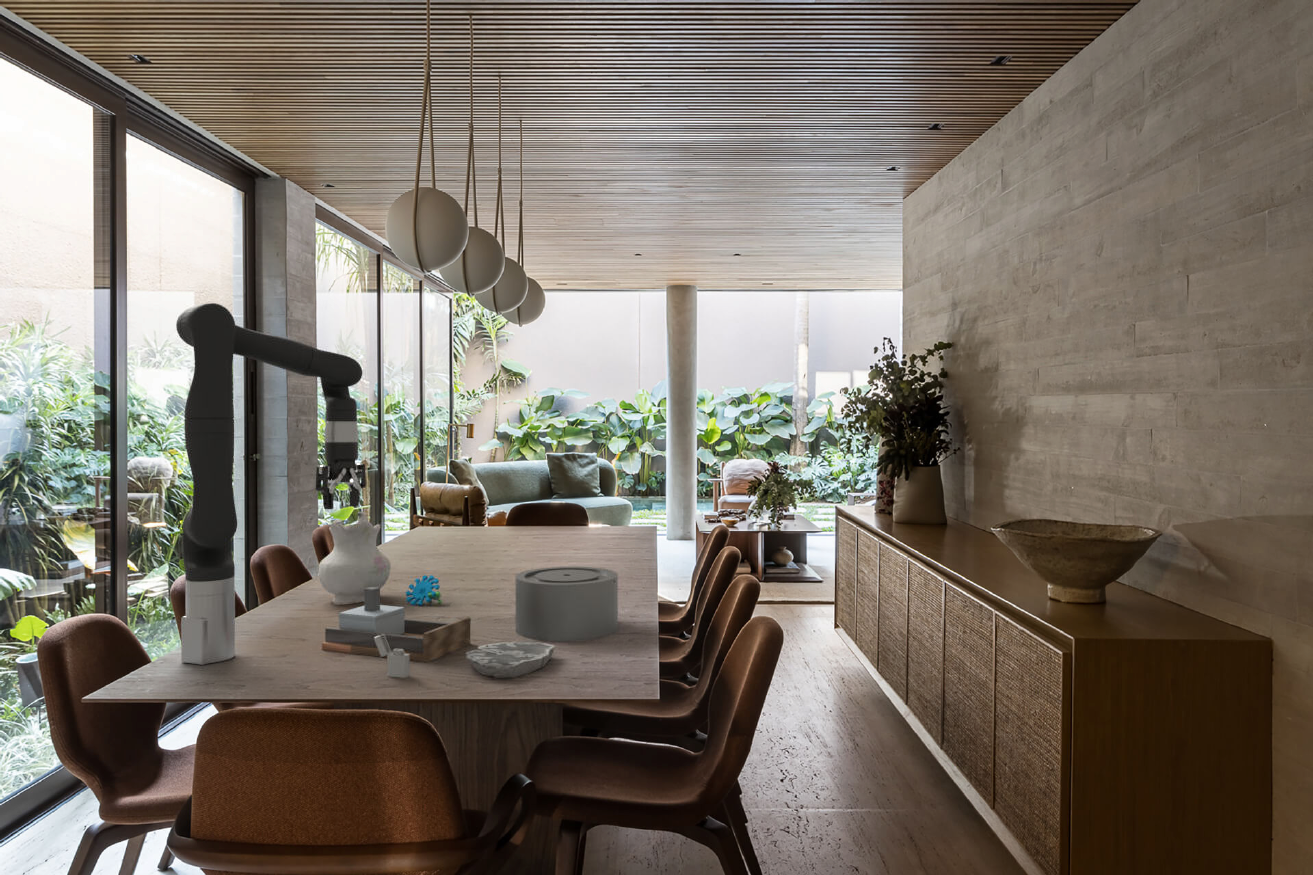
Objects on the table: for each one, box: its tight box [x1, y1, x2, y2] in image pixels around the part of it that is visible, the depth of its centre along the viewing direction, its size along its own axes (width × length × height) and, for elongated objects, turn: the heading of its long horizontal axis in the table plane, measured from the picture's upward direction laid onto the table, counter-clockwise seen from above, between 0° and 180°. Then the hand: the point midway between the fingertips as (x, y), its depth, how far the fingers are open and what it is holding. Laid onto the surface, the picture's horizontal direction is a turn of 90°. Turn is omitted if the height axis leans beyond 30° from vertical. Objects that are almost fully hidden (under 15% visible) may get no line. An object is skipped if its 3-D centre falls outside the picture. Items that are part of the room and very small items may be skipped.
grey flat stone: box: [464, 640, 555, 679], centre depth 168 cm, size 20×17×3 cm
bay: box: [321, 616, 471, 663], centre depth 183 cm, size 16×28×6 cm, turn 69°
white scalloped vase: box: [317, 510, 392, 606], centre depth 234 cm, size 22×20×25 cm
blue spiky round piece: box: [405, 574, 443, 607], centre depth 230 cm, size 11×6×10 cm
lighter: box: [374, 634, 411, 679], centre depth 161 cm, size 7×2×8 cm, turn 75°
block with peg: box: [338, 587, 406, 635], centre depth 185 cm, size 10×10×11 cm
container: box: [514, 566, 619, 643], centre depth 200 cm, size 25×25×13 cm
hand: (341, 507), depth 196 cm, fingers open, 8 cm apart
